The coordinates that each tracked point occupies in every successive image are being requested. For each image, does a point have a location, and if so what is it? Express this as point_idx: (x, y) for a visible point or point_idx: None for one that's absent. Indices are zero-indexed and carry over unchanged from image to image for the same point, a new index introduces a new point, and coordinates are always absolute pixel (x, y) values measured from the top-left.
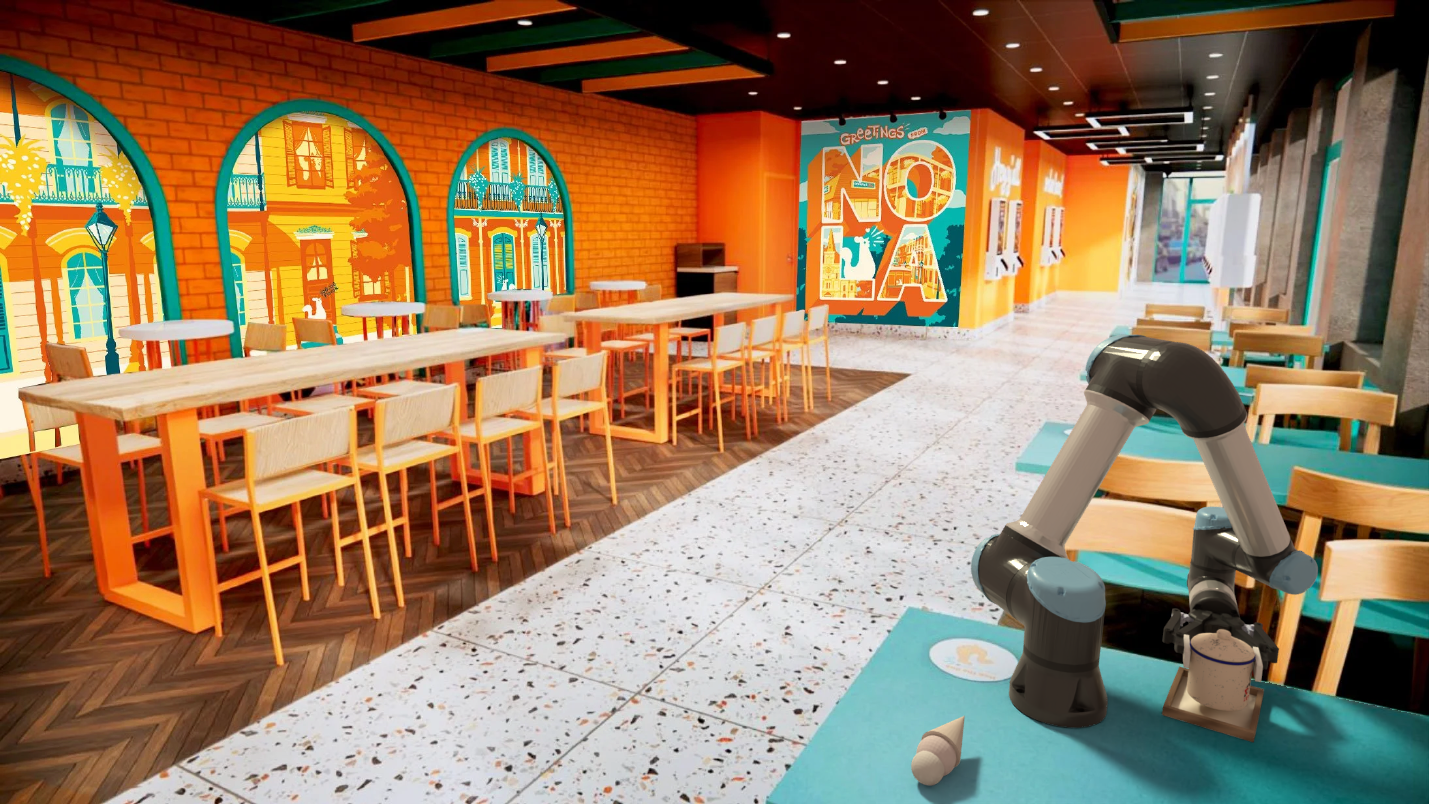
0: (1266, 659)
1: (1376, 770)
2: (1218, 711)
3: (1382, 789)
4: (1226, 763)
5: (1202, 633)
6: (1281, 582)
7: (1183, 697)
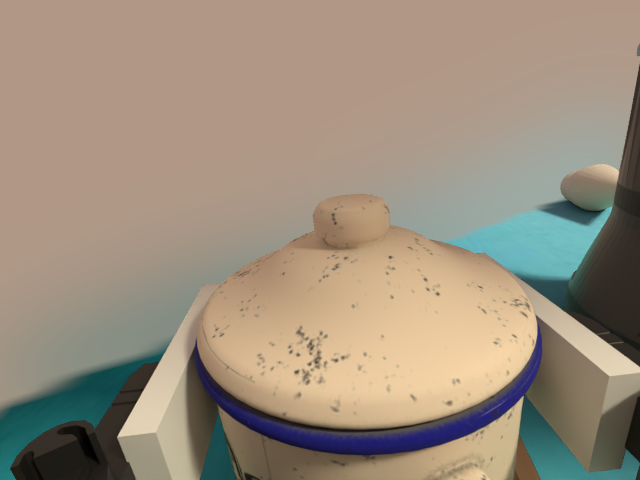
0: (133, 382)
1: (13, 444)
2: None
3: (68, 384)
4: None
5: (510, 336)
6: None
7: None
